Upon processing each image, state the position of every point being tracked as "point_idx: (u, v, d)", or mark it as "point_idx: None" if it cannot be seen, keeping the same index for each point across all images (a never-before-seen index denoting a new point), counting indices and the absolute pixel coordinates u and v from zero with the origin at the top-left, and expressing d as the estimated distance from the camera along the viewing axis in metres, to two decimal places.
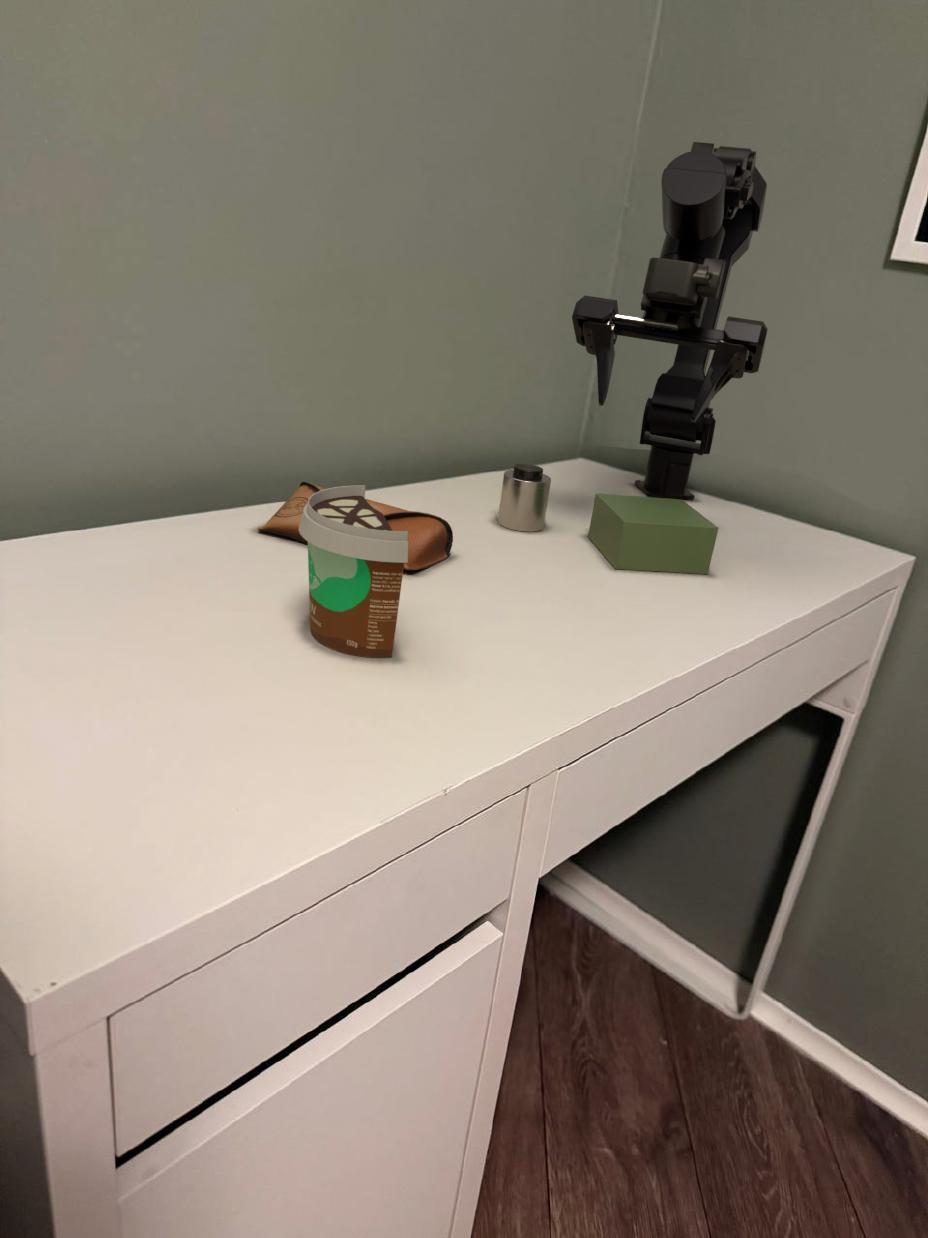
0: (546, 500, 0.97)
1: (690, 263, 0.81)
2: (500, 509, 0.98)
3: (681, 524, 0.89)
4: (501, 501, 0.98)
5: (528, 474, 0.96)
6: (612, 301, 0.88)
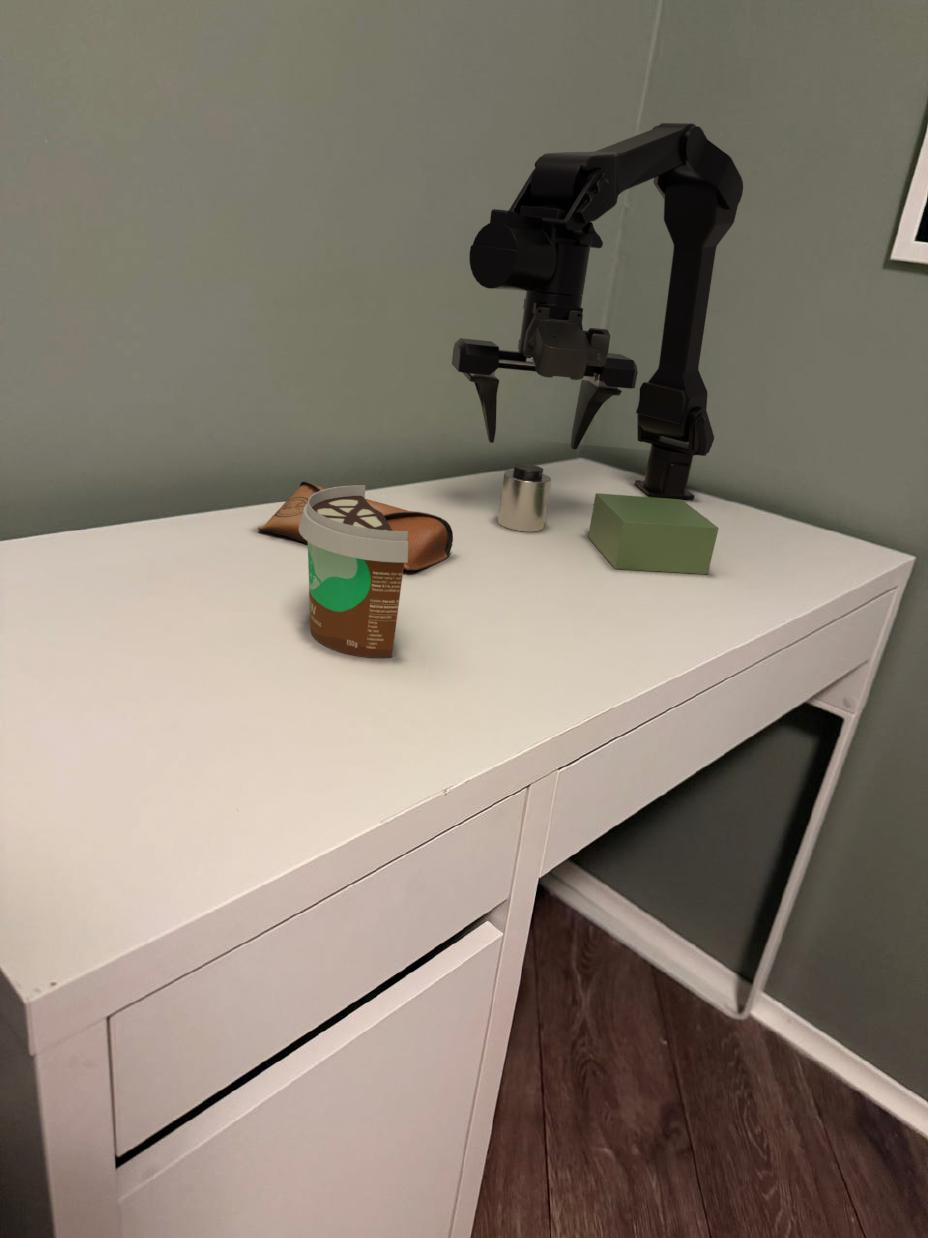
0: (546, 500, 0.97)
1: (583, 352, 0.84)
2: (500, 509, 0.98)
3: (681, 524, 0.89)
4: (501, 501, 0.98)
5: (528, 474, 0.96)
6: (496, 352, 0.89)
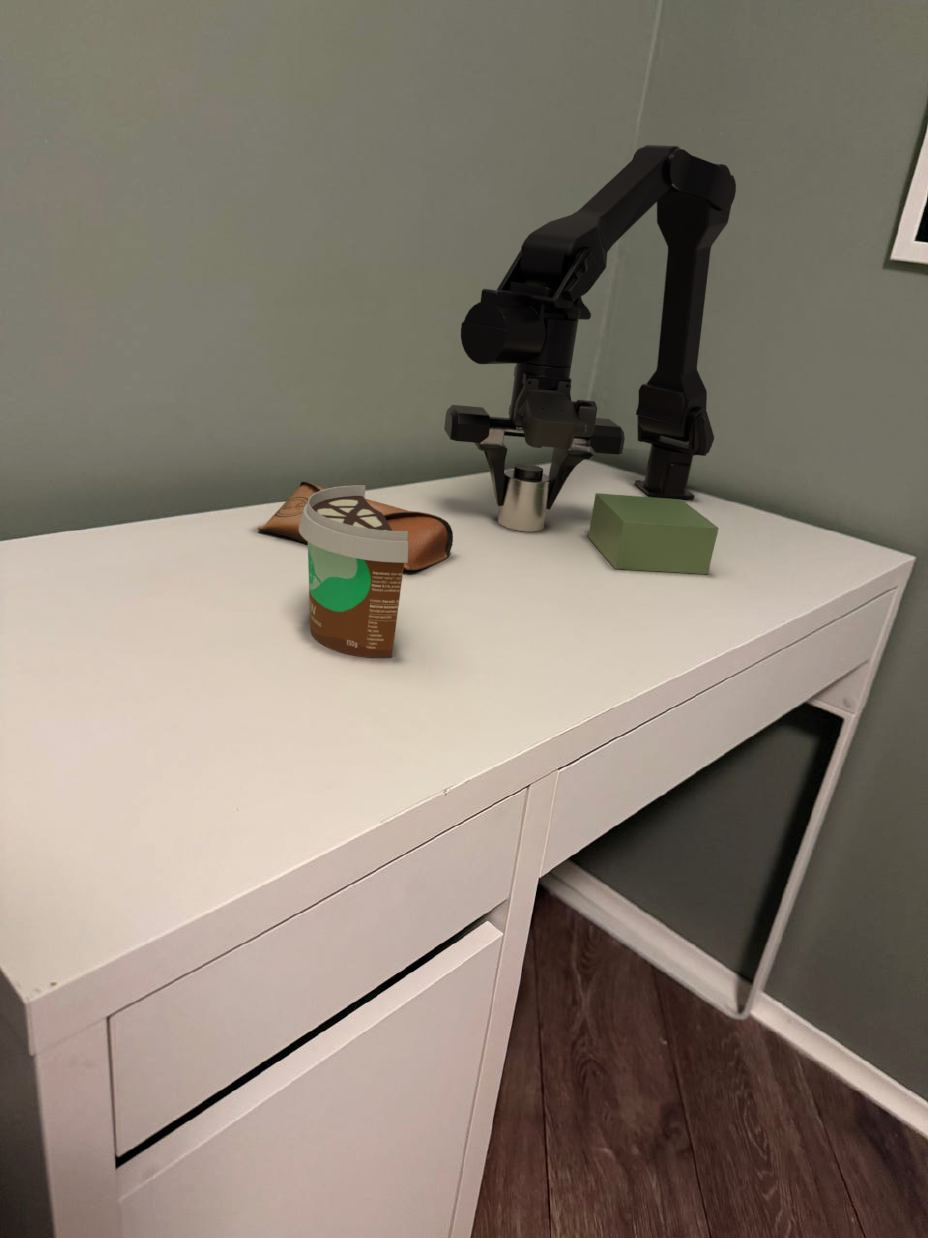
0: (546, 500, 0.97)
1: (571, 424, 0.87)
2: (500, 509, 0.98)
3: (681, 524, 0.89)
4: None
5: (528, 474, 0.96)
6: (487, 421, 0.92)
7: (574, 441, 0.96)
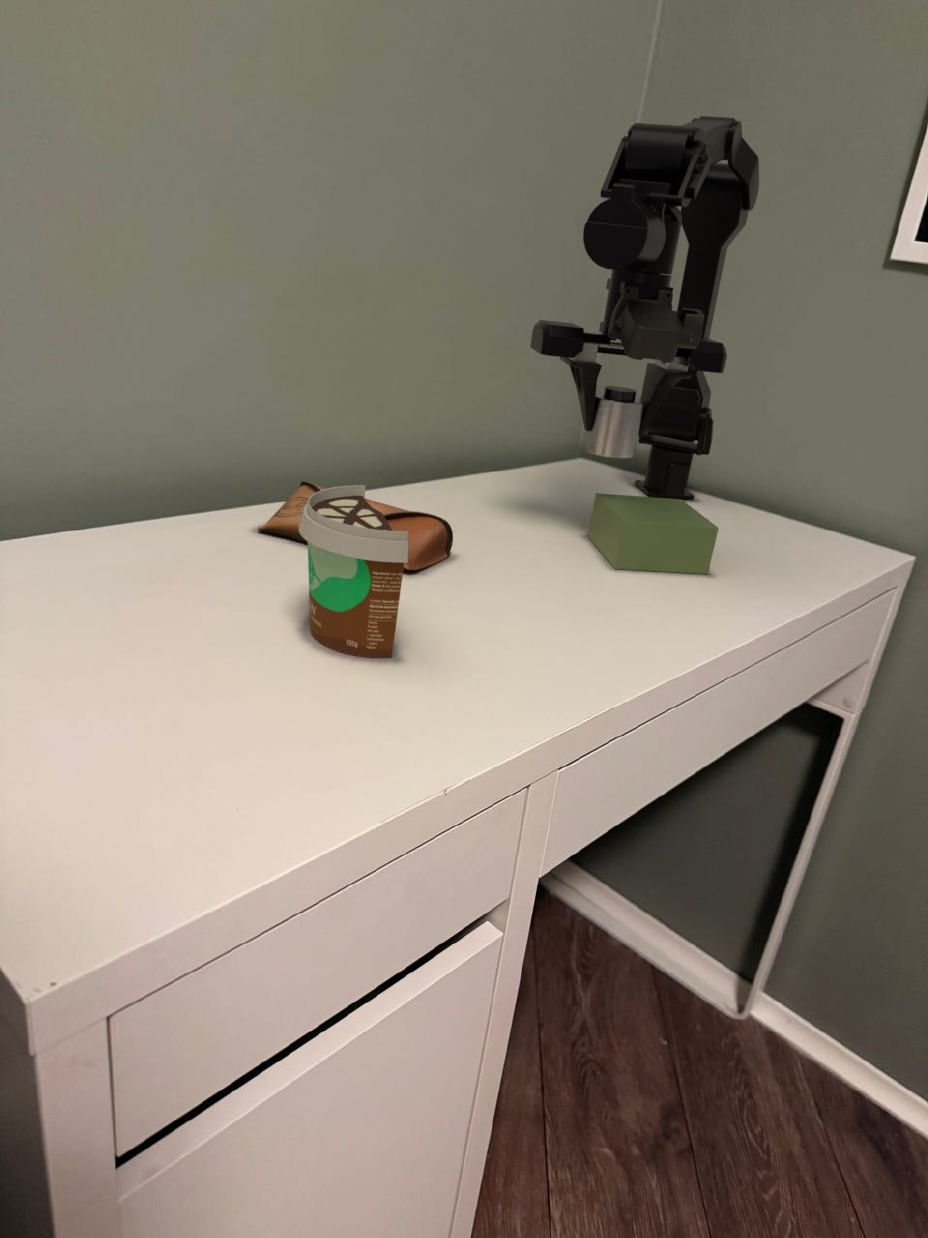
0: (639, 424, 0.91)
1: (676, 332, 0.80)
2: (588, 435, 0.92)
3: (681, 524, 0.89)
4: None
5: (621, 395, 0.89)
6: (580, 333, 0.85)
7: None
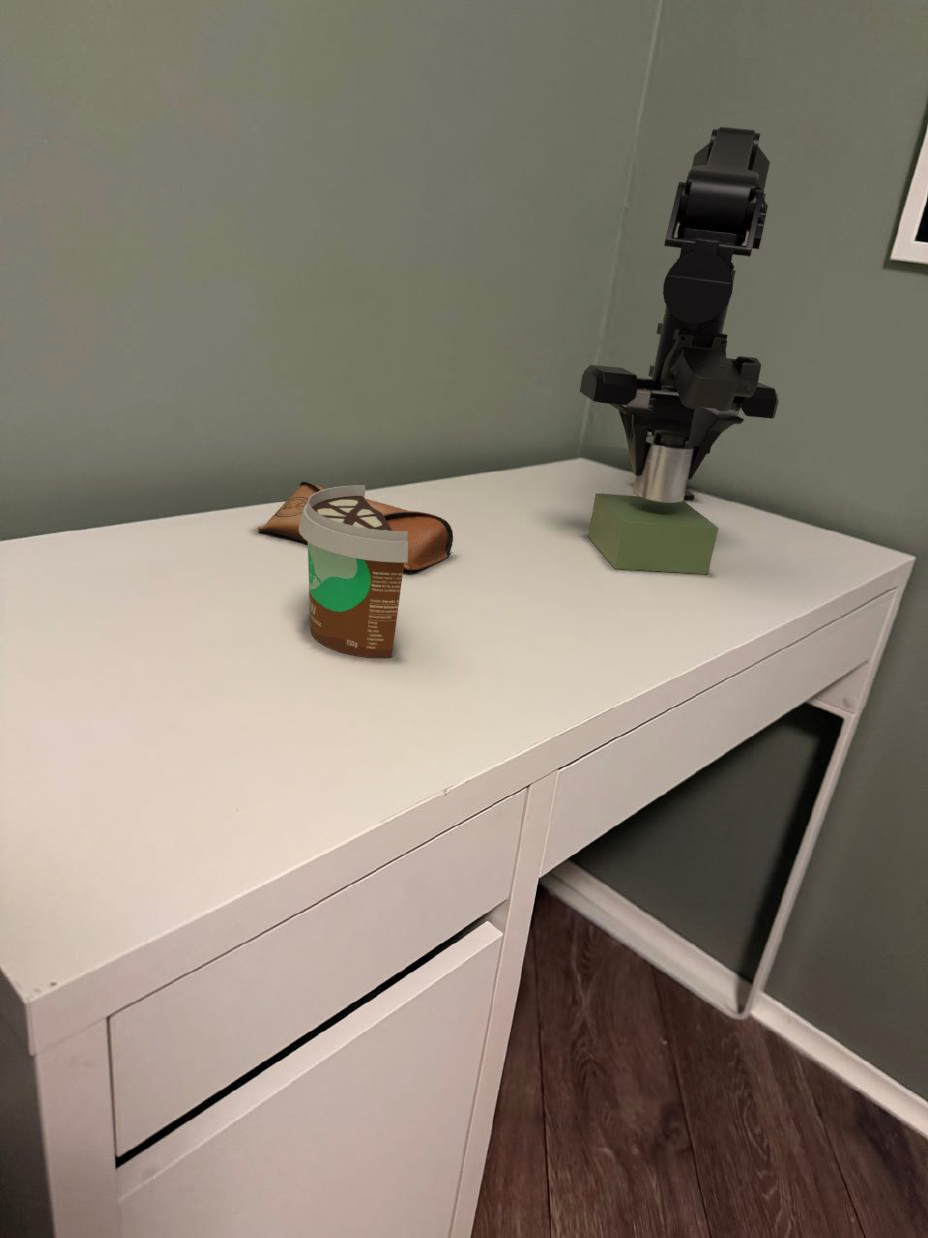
0: (689, 469, 0.90)
1: (734, 382, 0.80)
2: (638, 479, 0.91)
3: (681, 524, 0.89)
4: None
5: (672, 440, 0.88)
6: (634, 381, 0.84)
7: None
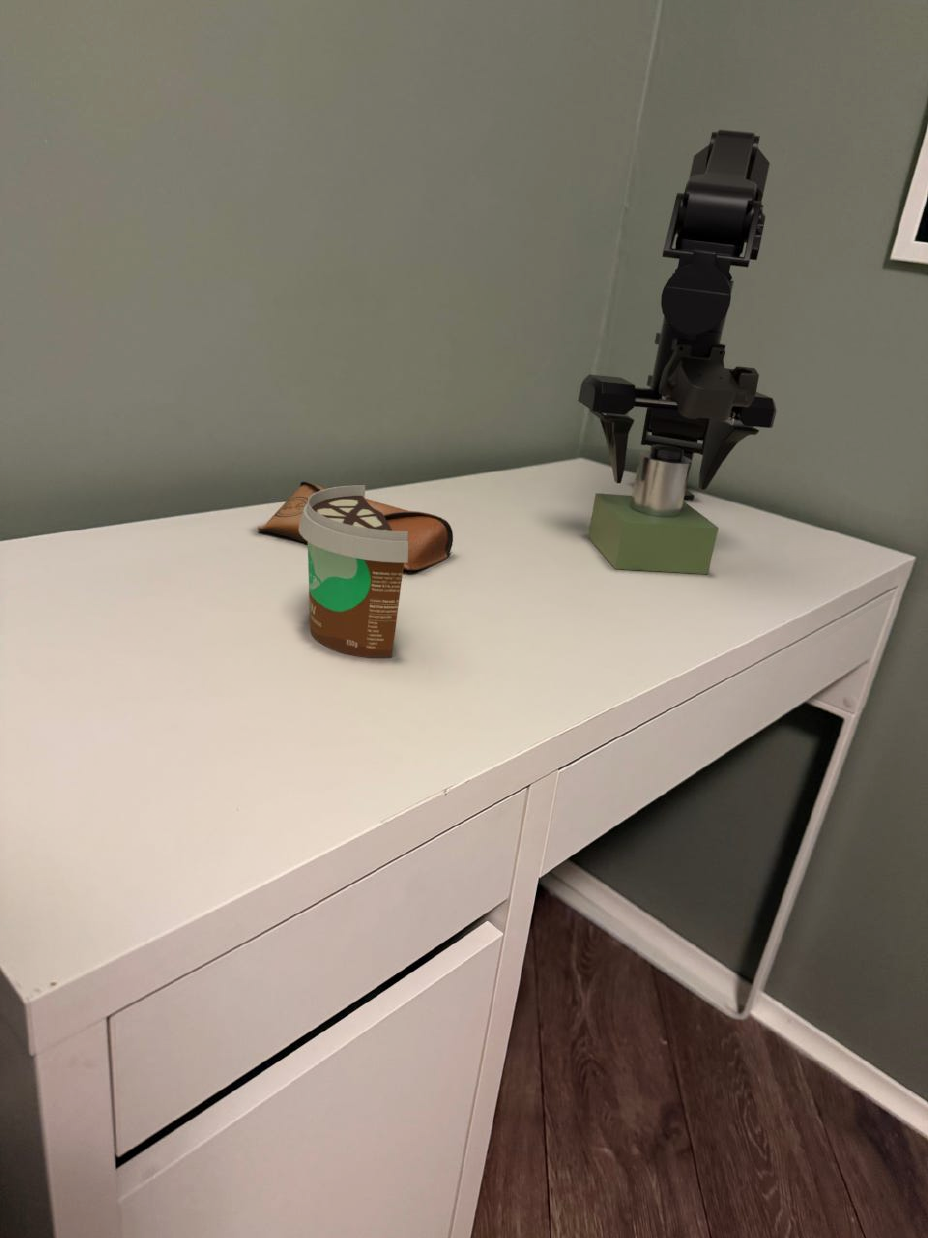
0: (686, 483, 0.90)
1: (732, 392, 0.80)
2: (635, 493, 0.91)
3: (681, 524, 0.89)
4: (637, 484, 0.91)
5: (669, 455, 0.89)
6: (632, 390, 0.84)
7: (737, 415, 0.89)
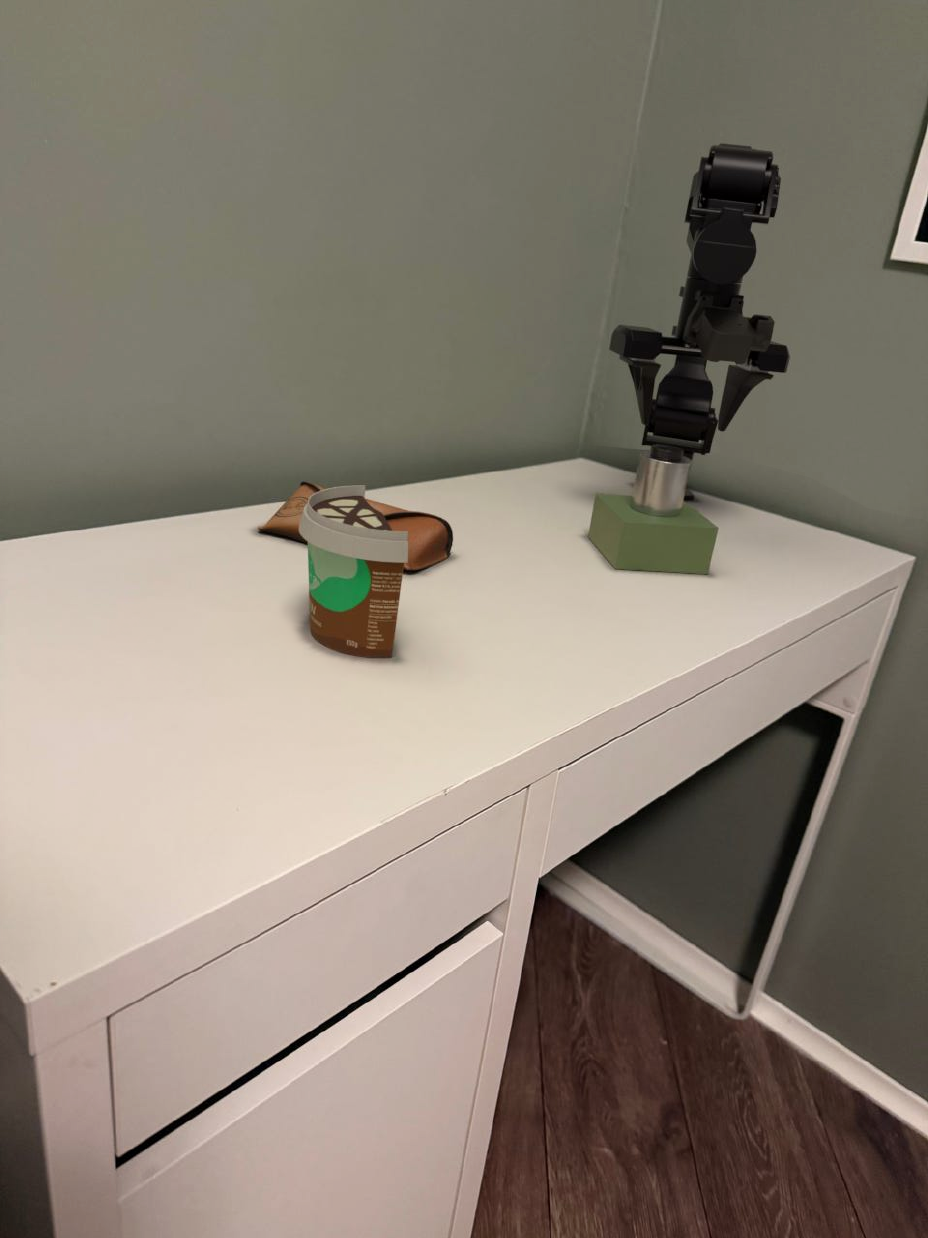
0: (686, 483, 0.90)
1: (750, 337, 0.89)
2: (635, 493, 0.91)
3: (681, 524, 0.89)
4: (637, 484, 0.91)
5: (669, 455, 0.89)
6: (659, 338, 0.93)
7: (754, 362, 0.98)
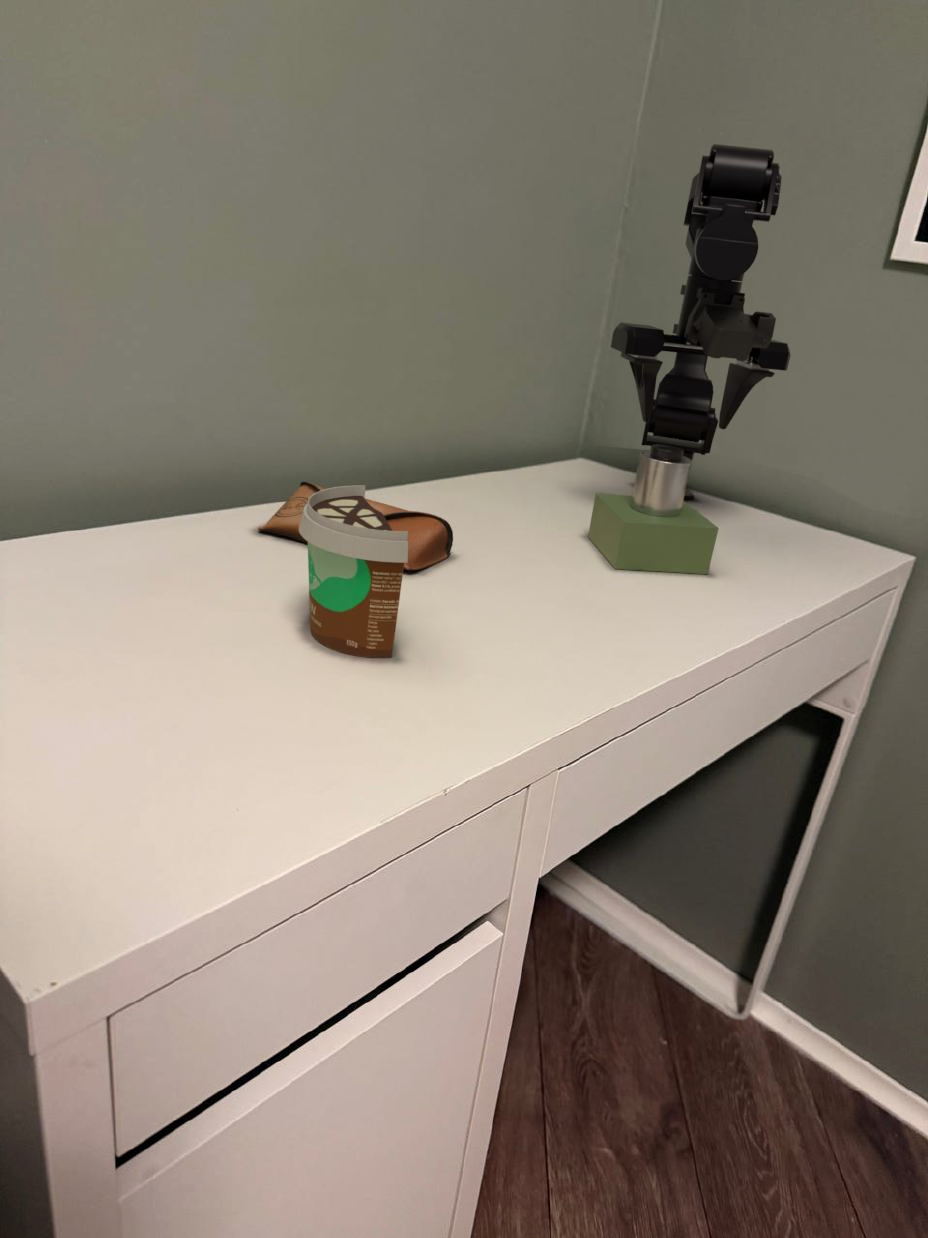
0: (686, 483, 0.90)
1: (752, 334, 0.89)
2: (635, 493, 0.91)
3: (681, 524, 0.89)
4: (637, 484, 0.91)
5: (669, 455, 0.89)
6: (661, 335, 0.94)
7: (755, 360, 0.98)
